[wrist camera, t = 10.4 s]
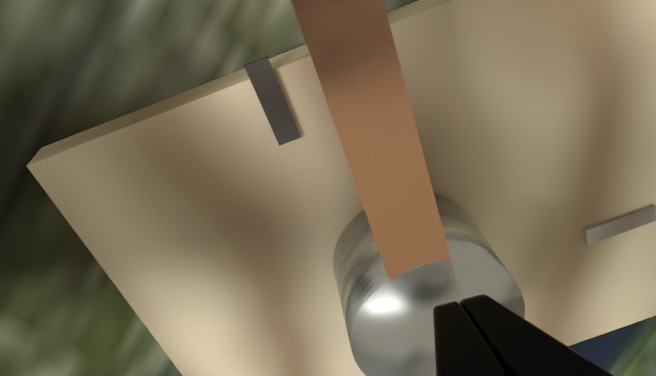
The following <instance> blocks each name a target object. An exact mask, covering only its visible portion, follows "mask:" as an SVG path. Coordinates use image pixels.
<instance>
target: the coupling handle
mask: <svg viewBox="0 0 656 376" xmlns="http://www.w3.org/2000/svg"><path fill="white" fill-rule="evenodd" d="M290 1H291V4H292V6H293V9H294V12H295V15H296V18H297V21H298V23H299V26H300V29H301V32H302V35H303V38H304V41H305V43H306V46H307V49H308V52H309V55H310V58H311V61H312V63H313V66H314V69H315V72H316V75H317V78H318V80H319V83H320V86H321V89H322V92H323V95H324V98H325V100H326V103H327V106H328V109H329V112H330V115H331V117H332V120H333V123H334V126H335V129H336V132H337V135H338V137H339V140H340V143H341V146H342V149H343V152H344V154H345V157H346V160H347V163H348V166H349V169H350V172H351V174H352V177H353V180H354V183H355V186H356V189H357V191H358V194H359V197H360V200H361V203H362V206H363V209H364V210H363V211H361V212H360V213H359V214H358V215H357V216H356V217H354V218H353V219H352V220H351V222H350V223H349V224H348V225H347V226H346V228H345V229H344V231H343V232H342V233H341V235H340V237H339V239H338V241H337V244H336V247H335V250H334V255H333V271H334V276H335V280H336V285H337V289H338V294H339V298H340V302H341V307H342V311H343V315H344V320H345V324H346V328H347V333H348V337H349V342H350V346H351V350H352V354H353V357H354V360H355V362H356V364H357V365H358V367H359V368H360V370H361V371H362V372H363V373H364V374H365V375H366V376H436V363H435V342H434V321H433V309H434V307H435V306H437V305H441V304H445V303H449V302H453V301H457V302H459V303H460V301H461V300H462V299H465V298H469V297H473V296H477V295H482V294H484V295H487V296H489V297H491V298H493V299H494V300H496V301H497V302H499V303H500V304H502V305H504V306H505V307H507V308H508V309H510V310H511V311H513V312H515V313H516V314H518V315H519V316H521V317H522V318H525V303H524V299H523V295H522V292H521V290H520V288H519V286H518V285H517V284H516V282H515V281H514V279H513V278H512V276H511V275H510V273H509V272H508V271H507V269H506V268H505V266H504V265H503V263H502V262H501V261H500V259H499V258H498V256H497V255H496V253H495V252H494V251H493V249H492V248H491V246H490V245H489V243H488V242H487V241H486V239H485V238H484V236H483V235H482V233H481V232H480V231H479V229H478V228H477V226H476V225H475V223H474V222H473V221H472V219H471V218H470V216H469V215H468V214H467V212H466V211H465V210H464V209H463V208H462V207H461V206H459V205H458V204H457V203H455V202H454V201H452V200H450V199H448V198H446V197H443V196H440V195H437V194H434V192H433V189H432V185H431V181H430V177H429V173H428V170H427V166H426V162H425V158H424V154H423V150H422V147H421V143H420V139H419V135H418V131H417V128H416V124H415V120H414V116H413V112H412V108H411V105H410V101H409V97H408V93H407V89H406V85H405V82H404V78H403V74H402V70H401V66H400V63H399V59H398V55H397V51H396V47H395V43H394V40H393V36H392V32H391V28H390V24H389V20H388V17H387V13H386V9H385V5H384V1H383V0H290Z"/></svg>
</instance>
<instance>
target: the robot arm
mask: <svg viewBox="0 0 656 376" xmlns="http://www.w3.org/2000/svg"><path fill="white" fill-rule="evenodd" d="M433 321H434V342H435V363H436V376H613V375H612V374H610V373H609V372H607V371H605V370H604V369H602V368H601V367H599V366H598V365H596V364H594V363H593V362H591V361H590V360H588V359H587V358H585V357H583V356H582V355H580V354H579V353H577V352H576V351H574V350H573V349H571V348H569V347H568V346H566V345H565V344H563V343H562V342H560V341H558V340H557V339H555V338H554V337H552V336H551V335H549V334H547V333H546V332H544V331H543V330H541V329H540V328H538V327H536V326H535V325H533V324H532V323H530V322H529V321H527V320H525V319H524V318H522V317H521V316H519V315H518V314H516V313H515V312H513V311H511V310H510V309H508V308H507V307H505V306H504V305H502V304H500V303H499V302H497V301H496V300H494V299H493V298H491V297H489V296H487V295H484V294H482V295H477V296H473V297H469V298H465V299H462V300H461V301H460V303H459V302H457V301H453V302H449V303H445V304H441V305H437V306H435V307H434V309H433Z"/></svg>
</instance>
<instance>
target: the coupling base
mask: <svg viewBox="0 0 656 376" xmlns="http://www.w3.org/2000/svg"><path fill="white" fill-rule="evenodd" d="M387 17H388V20H389V24H390V28H391V32H392V36H393V40H394V43H395V47H396V51H397V55H398V59H399V63H400V66H401V70H402V74H403V78H404V82H405V85H406V89H407V93H408V97H409V101H410V105H411V108H412V112H413V116H414V120H415V124H416V128H417V131H418V135H419V139H420V143H421V147H422V150H423V154H424V158H425V162H426V166H427V170H428V173H429V177H430V181H431V185H432V189H433V192H434V194H437V195H440V196H443V197H446V198H448V199H450V200H452V201H454V202H455V203H457V204H458V205H459V206H461V207H462V208H463V209H464V210H465V211H466V212H467V214H468V215H469V216H470V218H471V219H472V221H473V222H474V223H475V225H476V226H477V228H478V229H479V231H480V232H481V233H482V235H483V236H484V238H485V239H486V241H487V242H488V243H489V245H490V246H491V248H492V249H493V251H494V252H495V253H496V255H497V256H498V258H499V259H500V261H501V262H502V263H503V265H504V266H505V268H506V269H507V271H508V272H509V273H510V275H511V276H512V278H513V279H514V281H515V282H516V284H517V285H518V286H519V288H520V290H521V292H522V295H523V299H524V303H525V318H524V319H525V320H527V321H529V322H530V323H532V324H533V325H535V326H536V327H538V328H540V329H541V330H543V331H544V332H546V333H547V334H549V335H551V336H552V337H554V338H555V339H557V340H558V341H560V342H562V343H563V344H565V345H566V346H570V345H572V344H575V343H578V342H581V341H584V340H587V339H590V338H592V337H595V336H598V335H601V334H604V333H607V332H610V331H613V330H615V329H618V328H621V327H624V326H627V325H630V324H633V323H635V322H638V321H641V320H644V319H647V318H650V317H653V316H655V315H656V0H418V1H416V2H413V3H411V4H408V5H406V6H403V7H400V8H398V9H395V10H393V11H390V12H388V13H387ZM244 67H245V68H244V69H242V70H239V71H236V72H234V73H231V74H229V75H226V76H224V77H221V78H218V79H216V80H213V81H211V82H208V83H206V84H203V85H201V86H198V87H195V88H193V89H190V90H188V91H185V92H183V93H180V94H177V95H175V96H172V97H170V98H167V99H165V100H162V101H160V102H157V103H154V104H152V105H149V106H147V107H144V108H142V109H139V110H136V111H134V112H131V113H129V114H126V115H124V116H121V117H119V118H116V119H113V120H111V121H108V122H106V123H103V124H101V125H98V126H95V127H93V128H90V129H88V130H85V131H83V132H80V133H78V134H75V135H72V136H70V137H67V138H65V139H62V140H60V141H57V142H54V143H52V144H49V145H47V146H44V147H42V148H41V149H40V150H39V151H38V153H37V154H36V155H35V156H34V157H33V159H32V160H31V161H30V162H29V163H28V165H27V167H28V169H29V170H30V172H31V173H32V174H33V176H34V177H35V178H36V180H37V181H38V182H39V184H40V185H41V186H42V188H43V189H44V190H45V192H46V193H47V194H48V196H49V197H50V198H51V200H52V201H53V202H54V204H55V205H56V206H57V208H58V209H59V210H60V212H61V213H62V214H63V216H64V217H65V218H66V220H67V221H68V222H69V224H70V225H71V226H72V228H73V229H74V231H75V232H76V233H77V235H78V236H79V237H80V239H81V240H82V241H83V243H84V244H85V245H86V247H87V248H88V249H89V251H90V252H91V253H92V255H93V256H94V257H95V259H96V260H97V261H98V263H99V264H100V265H101V267H102V268H103V269H104V271H105V272H106V273H107V275H108V276H109V277H110V279H111V280H112V281H113V283H114V284H115V285H116V287H117V288H118V289H119V291H120V292H121V294H122V295H123V296H124V298H125V299H126V300H127V302H128V303H129V304H130V306H131V307H132V308H133V310H134V311H135V312H136V314H137V315H138V316H139V318H140V319H141V320H142V322H143V323H144V324H145V326H146V327H147V328H148V330H149V331H150V332H151V334H152V335H153V336H154V338H155V339H156V340H157V342H158V343H159V344H160V346H161V347H162V348H163V350H164V351H165V353H166V354H167V355H168V357H169V358H170V359H171V361H172V362H173V363H174V365H175V366H176V367H177V369H178V370H179V371H180V373H181V374H182V375H183V376H366V375H365V374H364V373H363V372H362V371H361V370H360V368H359V367H358V365H357V364H356V362H355V360H354V357H353V354H352V350H351V346H350V342H349V337H348V333H347V328H346V324H345V320H344V315H343V311H342V307H341V302H340V298H339V294H338V289H337V285H336V280H335V276H334V271H333V255H334V250H335V247H336V244H337V241H338V239H339V237H340V235H341V233H342V232H343V231H344V229H345V228H346V226H347V225H348V224H349V223H350V222H351V220H352V219H353V218H354V217H356V216H357V215H358V214H359V213H360V212H361V211H363V210H364V209H363V206H362V203H361V200H360V197H359V194H358V191H357V189H356V186H355V183H354V180H353V177H352V174H351V172H350V169H349V166H348V163H347V160H346V157H345V154H344V152H343V149H342V146H341V143H340V140H339V137H338V135H337V132H336V129H335V126H334V123H333V120H332V117H331V115H330V112H329V109H328V106H327V103H326V100H325V98H324V95H323V92H322V89H321V86H320V83H319V80H318V78H317V75H316V72H315V69H314V66H313V63H312V61H311V58H310V55H309V52H308V49H307V46H306V45H303V46H300V47H298V48H295V49H293V50H290V51H288V52H285V53H283V54H280V55H277V56H275V57H272V58H270V59H268V56H265V57H263V58H260V59H258V60H255V61H253V62H250V63H247V64H245V65H244Z"/></svg>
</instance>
